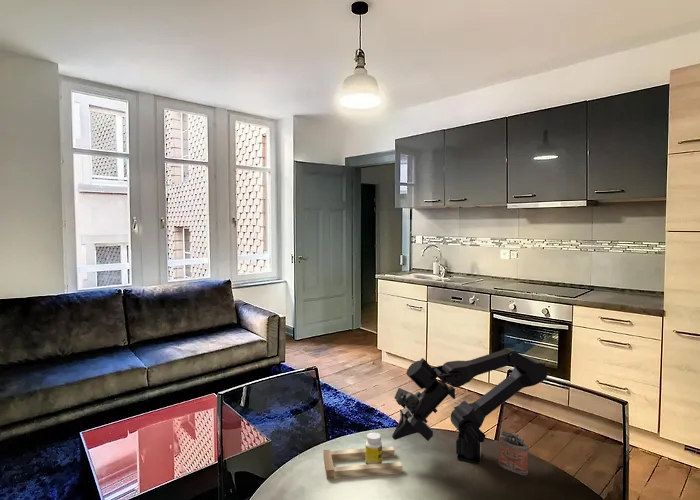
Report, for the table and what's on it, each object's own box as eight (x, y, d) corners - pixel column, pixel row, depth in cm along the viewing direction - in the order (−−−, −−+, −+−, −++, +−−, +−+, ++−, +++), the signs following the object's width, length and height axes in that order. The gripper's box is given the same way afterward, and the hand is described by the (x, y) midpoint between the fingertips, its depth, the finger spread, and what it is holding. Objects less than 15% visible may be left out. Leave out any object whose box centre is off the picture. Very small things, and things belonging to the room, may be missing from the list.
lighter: (529, 471, 115) (530, 436, 115) (525, 476, 112) (525, 440, 112) (501, 460, 120) (501, 427, 120) (496, 465, 118) (496, 431, 118)
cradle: (392, 452, 125) (392, 444, 125) (402, 472, 114) (402, 463, 114) (323, 458, 122) (323, 449, 122) (326, 479, 111) (326, 470, 111)
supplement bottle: (380, 470, 116) (380, 440, 115) (364, 468, 117) (364, 438, 116) (382, 460, 120) (383, 432, 120) (366, 459, 121) (366, 430, 121)
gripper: (402, 369, 128) (367, 406, 127) (422, 392, 110) (381, 435, 109) (427, 393, 130) (392, 430, 129) (449, 419, 111) (409, 462, 110)
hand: (393, 438), depth 119 cm, fingers closed
